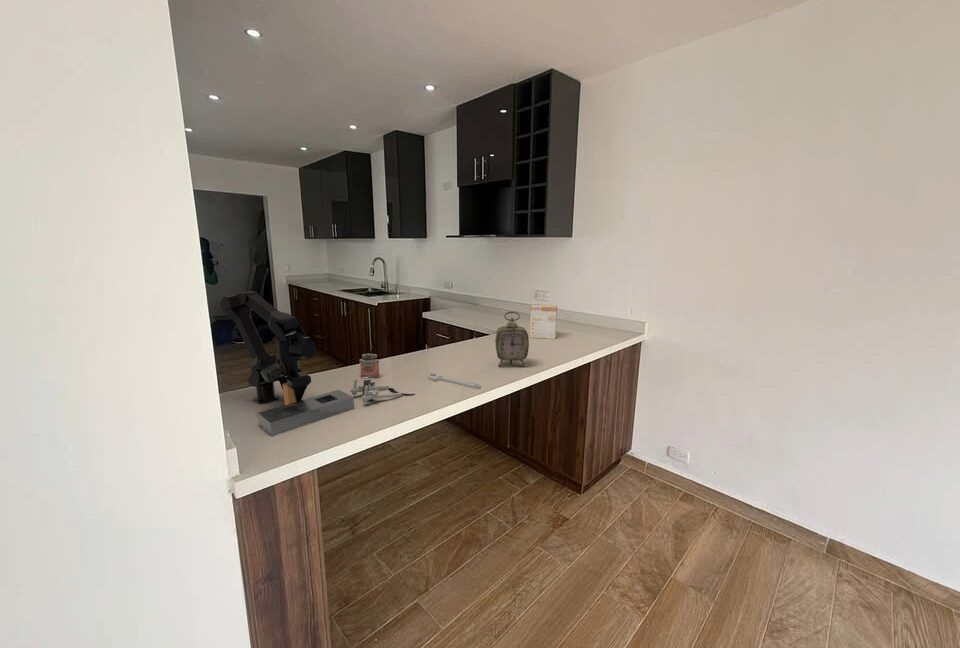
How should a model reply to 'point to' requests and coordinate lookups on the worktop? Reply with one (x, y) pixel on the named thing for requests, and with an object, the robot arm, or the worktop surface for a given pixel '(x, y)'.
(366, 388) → the bike brake
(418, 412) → the worktop surface
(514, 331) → the tabletop clock
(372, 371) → the red labelled jar
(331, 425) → the worktop surface
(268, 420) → the block with square holes
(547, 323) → the coffeecake box
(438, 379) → the adjustable wrench
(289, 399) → the square peg
